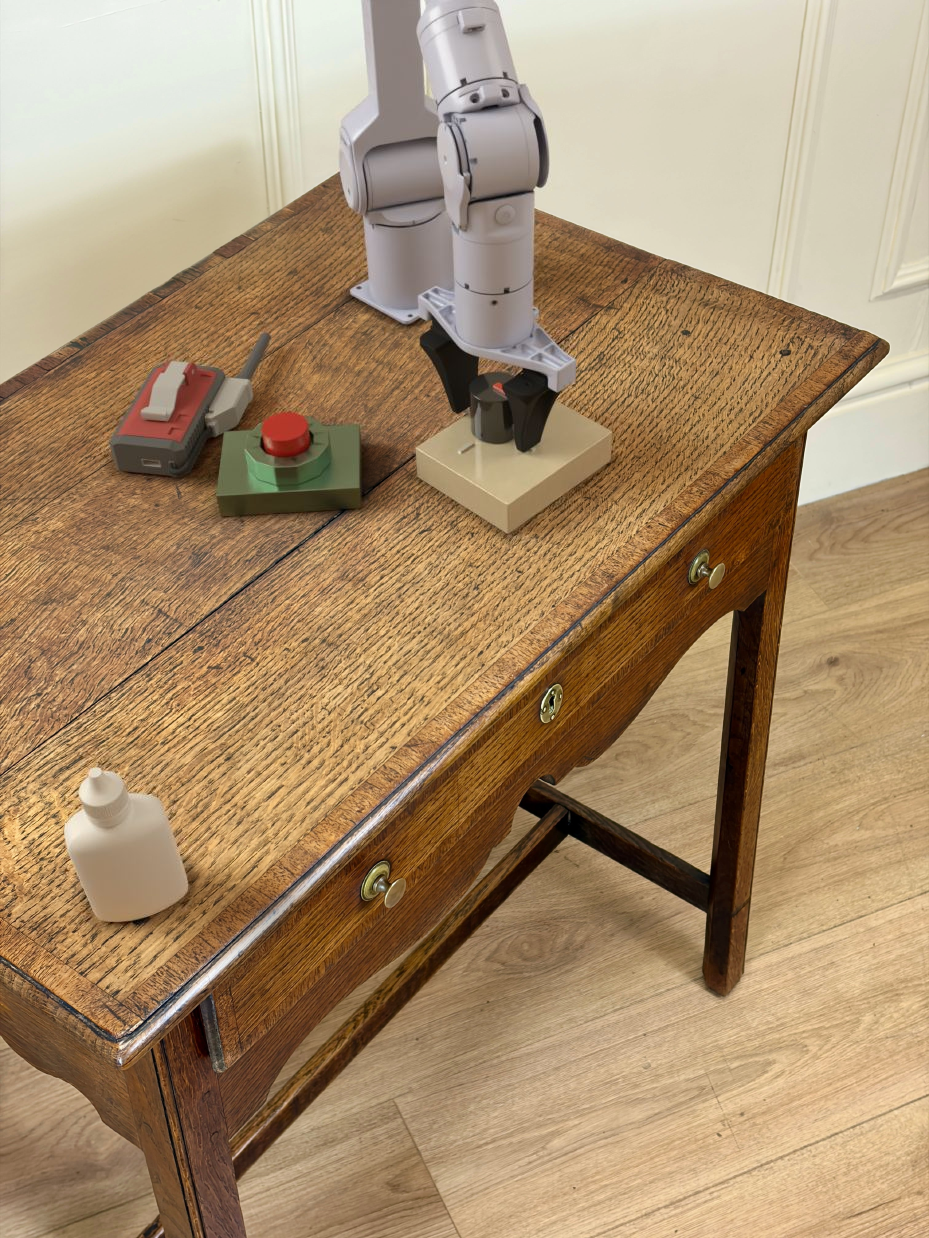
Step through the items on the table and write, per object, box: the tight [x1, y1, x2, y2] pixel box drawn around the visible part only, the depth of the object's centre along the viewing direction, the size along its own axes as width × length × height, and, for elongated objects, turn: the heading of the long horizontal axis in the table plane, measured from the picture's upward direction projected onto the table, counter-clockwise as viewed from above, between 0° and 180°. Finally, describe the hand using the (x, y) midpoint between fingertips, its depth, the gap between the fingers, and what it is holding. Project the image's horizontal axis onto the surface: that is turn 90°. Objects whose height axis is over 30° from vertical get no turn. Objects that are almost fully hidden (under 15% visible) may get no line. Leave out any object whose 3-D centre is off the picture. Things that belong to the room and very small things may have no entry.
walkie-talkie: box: [108, 332, 272, 479], centre depth 109 cm, size 9×4×20 cm
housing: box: [215, 415, 363, 517], centre depth 102 cm, size 11×8×4 cm
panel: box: [414, 400, 613, 535], centre depth 103 cm, size 12×11×3 cm
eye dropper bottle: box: [63, 766, 189, 923], centre depth 73 cm, size 4×6×12 cm
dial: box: [469, 371, 515, 444], centre depth 101 cm, size 4×4×4 cm
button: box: [261, 411, 311, 458], centre depth 101 cm, size 4×4×2 cm
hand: (495, 426), depth 103 cm, fingers open, 6 cm apart
